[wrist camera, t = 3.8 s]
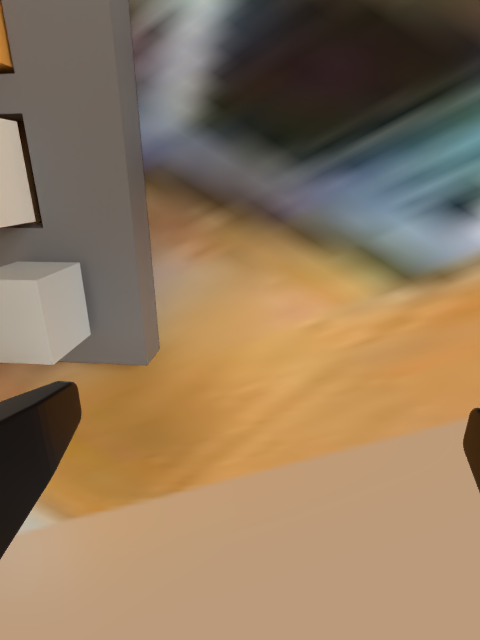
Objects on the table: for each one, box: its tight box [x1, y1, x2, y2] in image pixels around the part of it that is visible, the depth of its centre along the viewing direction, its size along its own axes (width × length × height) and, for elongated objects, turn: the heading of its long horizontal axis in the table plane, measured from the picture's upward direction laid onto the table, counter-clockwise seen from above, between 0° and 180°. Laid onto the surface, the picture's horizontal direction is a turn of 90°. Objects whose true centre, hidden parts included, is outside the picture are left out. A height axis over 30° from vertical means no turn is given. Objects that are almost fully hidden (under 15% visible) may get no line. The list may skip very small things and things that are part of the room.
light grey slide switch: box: [0, 262, 91, 365], centre depth 16 cm, size 3×4×3 cm
